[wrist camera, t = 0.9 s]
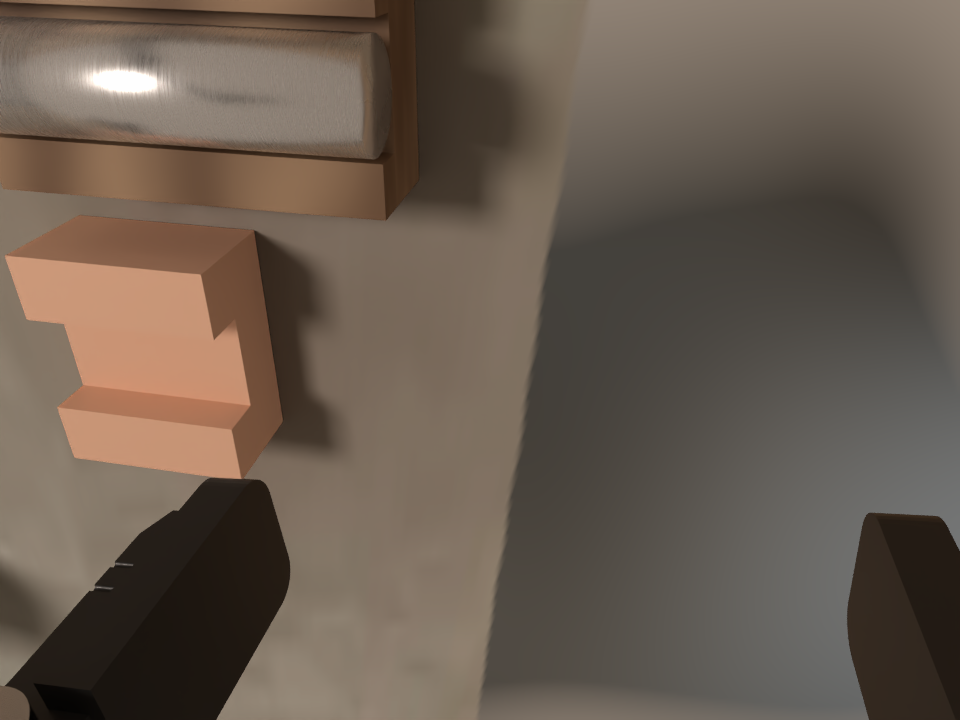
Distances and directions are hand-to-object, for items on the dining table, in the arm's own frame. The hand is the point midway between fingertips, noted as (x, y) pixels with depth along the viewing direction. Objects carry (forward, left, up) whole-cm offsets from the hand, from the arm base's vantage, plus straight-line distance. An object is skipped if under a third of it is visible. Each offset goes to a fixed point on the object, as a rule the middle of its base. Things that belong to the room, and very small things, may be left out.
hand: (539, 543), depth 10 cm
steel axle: (-16, +2, -19) cm, 25 cm away
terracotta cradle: (-20, -11, -23) cm, 32 cm away
